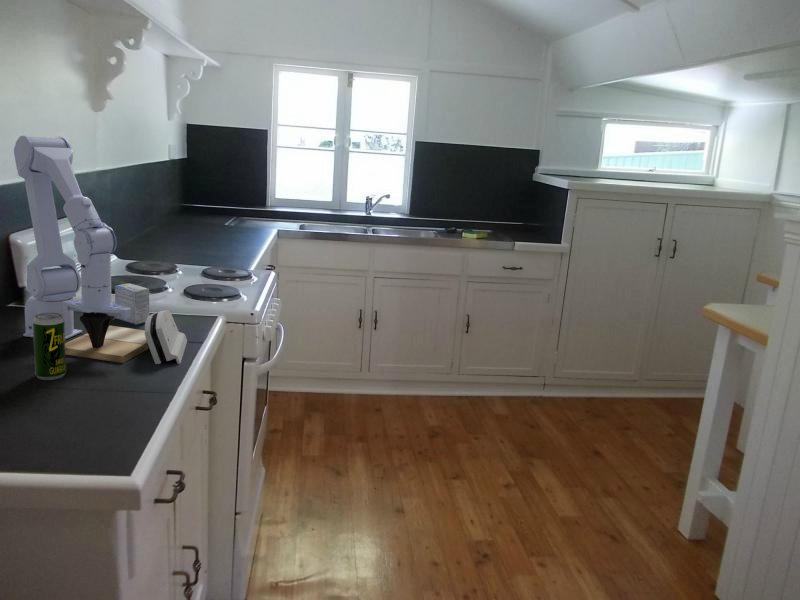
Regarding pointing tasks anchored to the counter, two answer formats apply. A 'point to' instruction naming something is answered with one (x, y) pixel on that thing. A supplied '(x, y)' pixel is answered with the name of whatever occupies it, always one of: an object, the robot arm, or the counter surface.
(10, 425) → the counter surface
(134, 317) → the grey wood grain block
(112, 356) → the plank
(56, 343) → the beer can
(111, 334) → the floor board
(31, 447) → the counter surface
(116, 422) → the counter surface
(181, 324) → the counter surface
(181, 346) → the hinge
